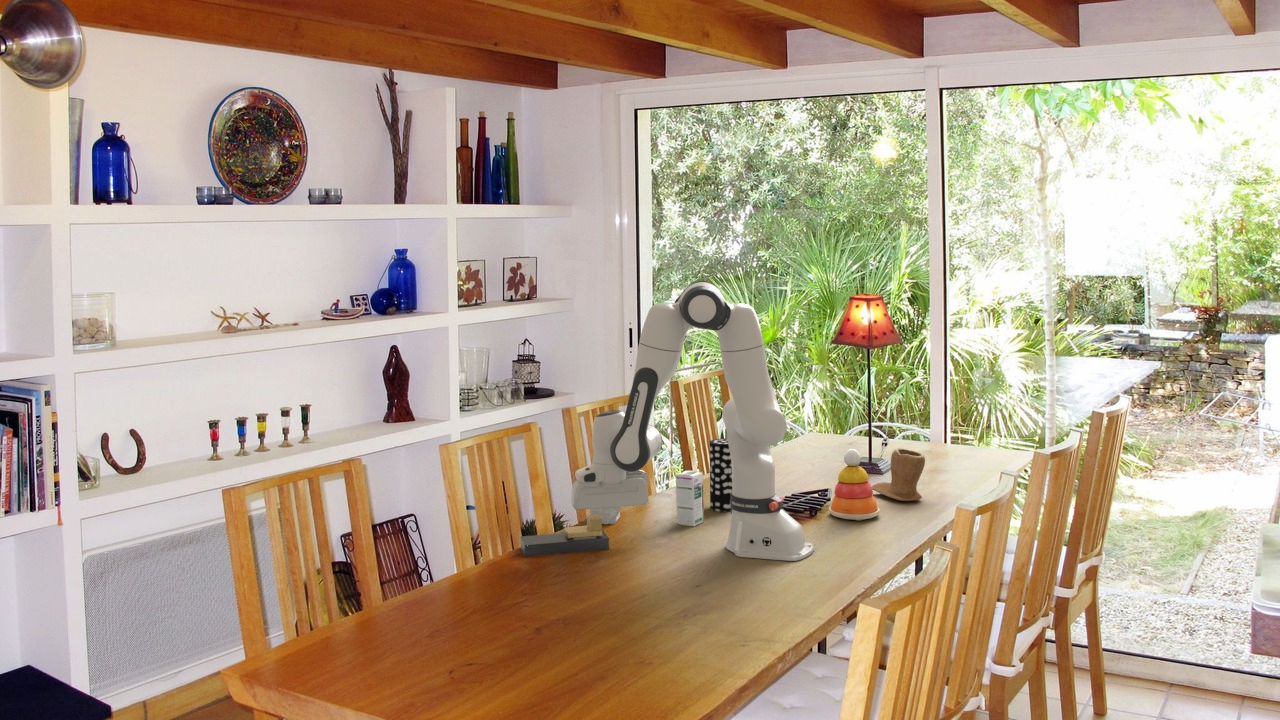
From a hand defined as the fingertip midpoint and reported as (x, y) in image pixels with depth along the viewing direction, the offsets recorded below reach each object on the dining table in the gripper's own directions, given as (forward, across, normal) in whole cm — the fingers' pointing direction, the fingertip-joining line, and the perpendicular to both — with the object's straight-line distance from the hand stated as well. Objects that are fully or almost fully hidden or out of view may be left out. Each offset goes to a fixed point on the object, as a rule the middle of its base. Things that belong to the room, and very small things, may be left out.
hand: (610, 523), depth 290 cm
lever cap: (+2, +7, 0) cm, 8 cm away
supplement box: (+6, -4, -23) cm, 24 cm away
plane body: (+6, +12, 0) cm, 14 cm away
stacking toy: (+6, -73, -8) cm, 74 cm away
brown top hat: (+6, -95, -23) cm, 98 cm away
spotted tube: (+6, -40, -27) cm, 49 cm away
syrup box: (+6, -26, -14) cm, 30 cm away
